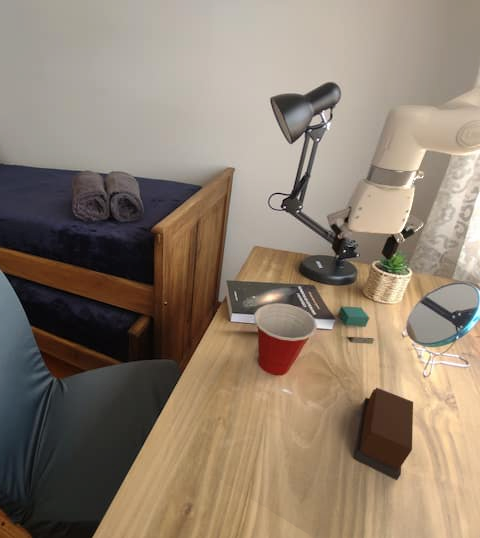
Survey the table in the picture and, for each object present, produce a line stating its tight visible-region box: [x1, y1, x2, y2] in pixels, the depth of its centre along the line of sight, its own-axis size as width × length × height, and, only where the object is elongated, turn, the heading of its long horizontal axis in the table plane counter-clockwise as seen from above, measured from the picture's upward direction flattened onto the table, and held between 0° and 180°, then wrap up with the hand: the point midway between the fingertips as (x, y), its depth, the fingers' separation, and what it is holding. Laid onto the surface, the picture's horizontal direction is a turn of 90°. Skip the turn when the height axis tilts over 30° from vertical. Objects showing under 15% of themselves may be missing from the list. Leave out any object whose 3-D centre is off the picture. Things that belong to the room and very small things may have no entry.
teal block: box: [337, 305, 375, 345], centre depth 81 cm, size 9×4×4 cm, turn 174°
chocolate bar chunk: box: [353, 387, 414, 481], centre depth 57 cm, size 13×6×6 cm, turn 144°
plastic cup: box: [253, 302, 318, 376], centre depth 69 cm, size 11×11×12 cm
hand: (360, 254), depth 77 cm, fingers open, 9 cm apart
